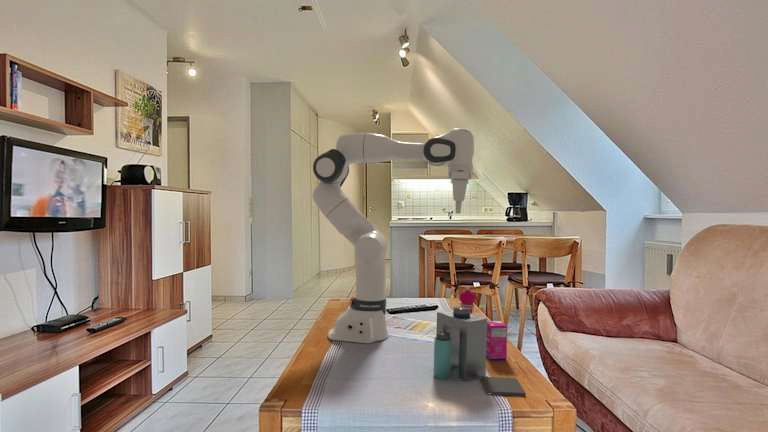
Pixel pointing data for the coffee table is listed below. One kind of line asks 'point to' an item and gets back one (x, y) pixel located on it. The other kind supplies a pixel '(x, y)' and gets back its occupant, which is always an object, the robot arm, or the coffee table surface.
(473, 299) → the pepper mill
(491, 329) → the supplement box
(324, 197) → the robot arm
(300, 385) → the coffee table surface
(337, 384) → the coffee table surface
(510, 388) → the mat
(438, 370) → the teal cylindrical piece
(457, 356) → the housing
